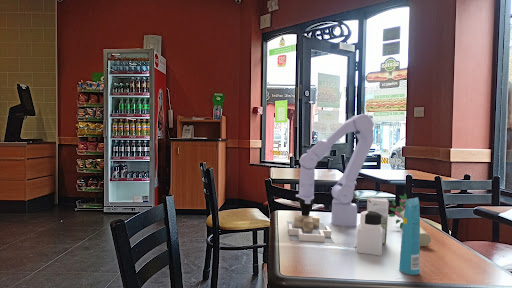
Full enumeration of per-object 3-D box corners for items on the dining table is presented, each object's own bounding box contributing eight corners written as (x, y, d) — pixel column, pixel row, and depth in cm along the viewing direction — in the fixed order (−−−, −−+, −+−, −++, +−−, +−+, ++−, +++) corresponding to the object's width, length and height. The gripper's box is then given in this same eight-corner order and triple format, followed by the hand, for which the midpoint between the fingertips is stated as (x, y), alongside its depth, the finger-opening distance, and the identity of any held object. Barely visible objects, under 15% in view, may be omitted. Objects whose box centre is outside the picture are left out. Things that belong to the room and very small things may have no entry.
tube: (404, 265, 98) (408, 195, 98) (423, 270, 95) (427, 198, 95) (394, 273, 93) (398, 198, 92) (414, 278, 90) (418, 201, 89)
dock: (327, 231, 128) (328, 226, 128) (334, 242, 115) (334, 236, 115) (288, 229, 129) (288, 223, 128) (289, 239, 116) (290, 233, 116)
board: (323, 225, 140) (323, 223, 140) (334, 245, 114) (334, 242, 114) (286, 223, 141) (287, 221, 141) (289, 242, 115) (290, 240, 115)
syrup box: (382, 239, 124) (384, 197, 123) (386, 244, 118) (388, 200, 118) (365, 238, 124) (367, 196, 124) (368, 243, 118) (370, 199, 118)
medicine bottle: (381, 249, 113) (383, 211, 112) (381, 256, 106) (383, 215, 106) (357, 246, 115) (359, 208, 115) (356, 252, 108) (358, 212, 108)
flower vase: (408, 266, 120) (385, 220, 154) (447, 259, 118) (415, 213, 151) (401, 235, 118) (379, 194, 151) (440, 227, 115) (409, 188, 149)
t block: (318, 225, 136) (318, 216, 136) (321, 232, 127) (321, 222, 127) (294, 224, 136) (294, 215, 136) (295, 230, 127) (296, 220, 127)
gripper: (295, 181, 148) (293, 214, 148) (297, 186, 134) (295, 222, 134) (312, 182, 148) (311, 215, 148) (316, 187, 133) (315, 223, 134)
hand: (305, 218), depth 141 cm, fingers closed
